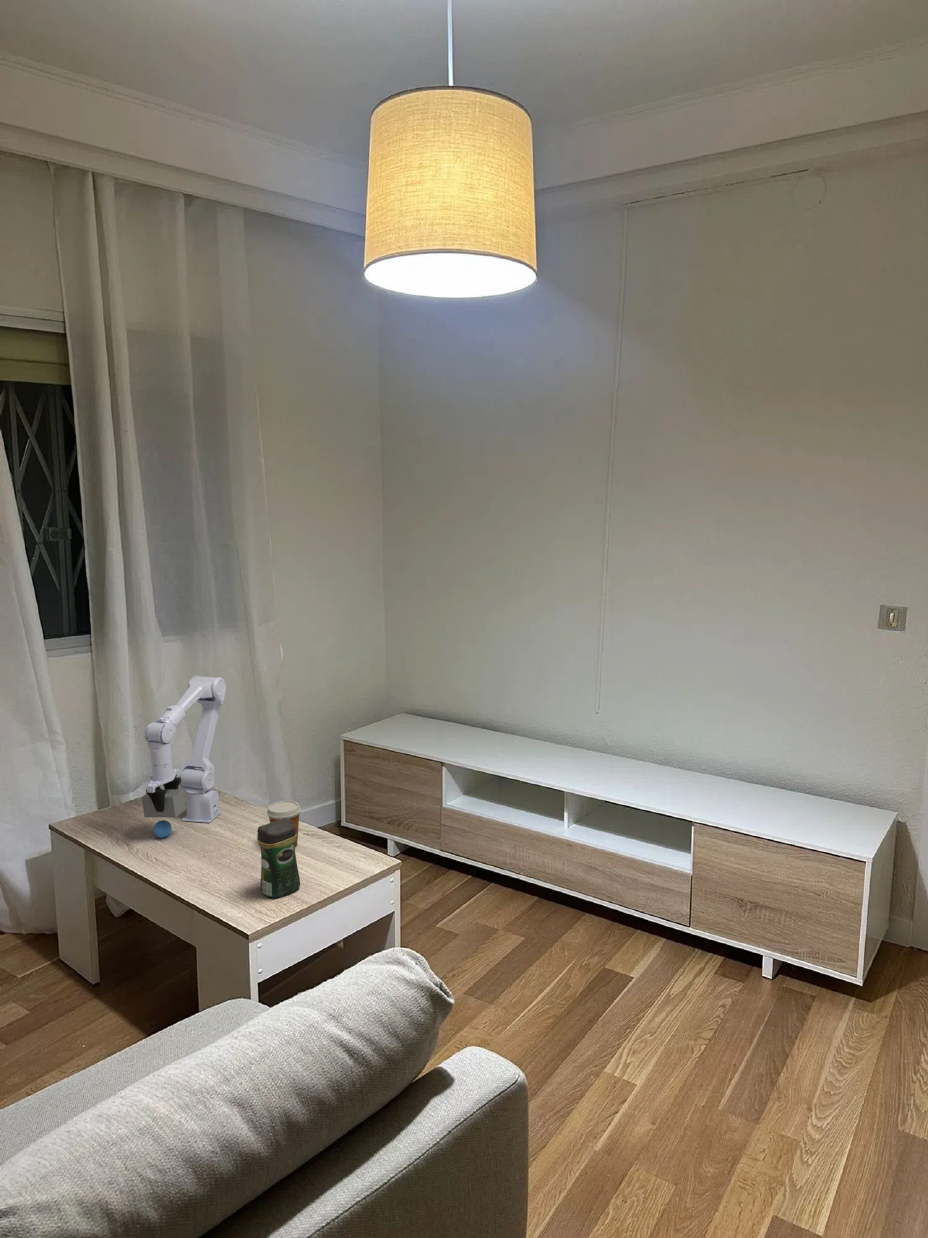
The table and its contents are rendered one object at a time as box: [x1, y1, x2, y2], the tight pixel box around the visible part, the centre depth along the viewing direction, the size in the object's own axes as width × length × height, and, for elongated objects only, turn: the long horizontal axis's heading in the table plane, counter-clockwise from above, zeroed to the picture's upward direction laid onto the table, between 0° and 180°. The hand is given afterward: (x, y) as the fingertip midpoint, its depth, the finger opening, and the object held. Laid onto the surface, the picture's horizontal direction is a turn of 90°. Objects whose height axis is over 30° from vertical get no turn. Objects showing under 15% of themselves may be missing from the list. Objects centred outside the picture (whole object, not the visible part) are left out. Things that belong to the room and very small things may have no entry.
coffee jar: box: [256, 818, 301, 899], centre depth 228 cm, size 10×8×19 cm
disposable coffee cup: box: [266, 800, 302, 848], centre depth 254 cm, size 10×10×12 cm
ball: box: [153, 819, 173, 839], centre depth 263 cm, size 5×5×5 cm
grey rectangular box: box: [141, 788, 187, 818], centre depth 261 cm, size 10×6×6 cm, turn 78°
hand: (165, 807), depth 261 cm, fingers closed on grey rectangular box, 6 cm apart
